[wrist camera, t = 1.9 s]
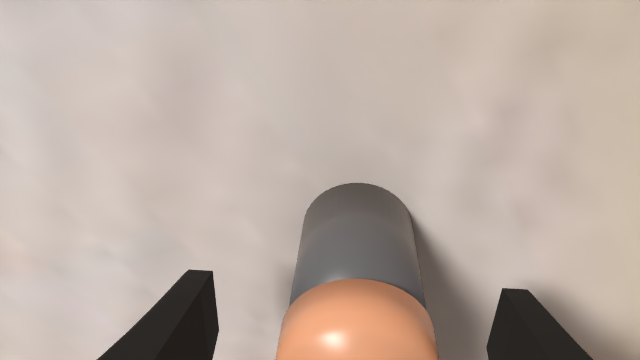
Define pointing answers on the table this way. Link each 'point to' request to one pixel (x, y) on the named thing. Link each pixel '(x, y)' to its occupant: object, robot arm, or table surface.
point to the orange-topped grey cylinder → (357, 282)
